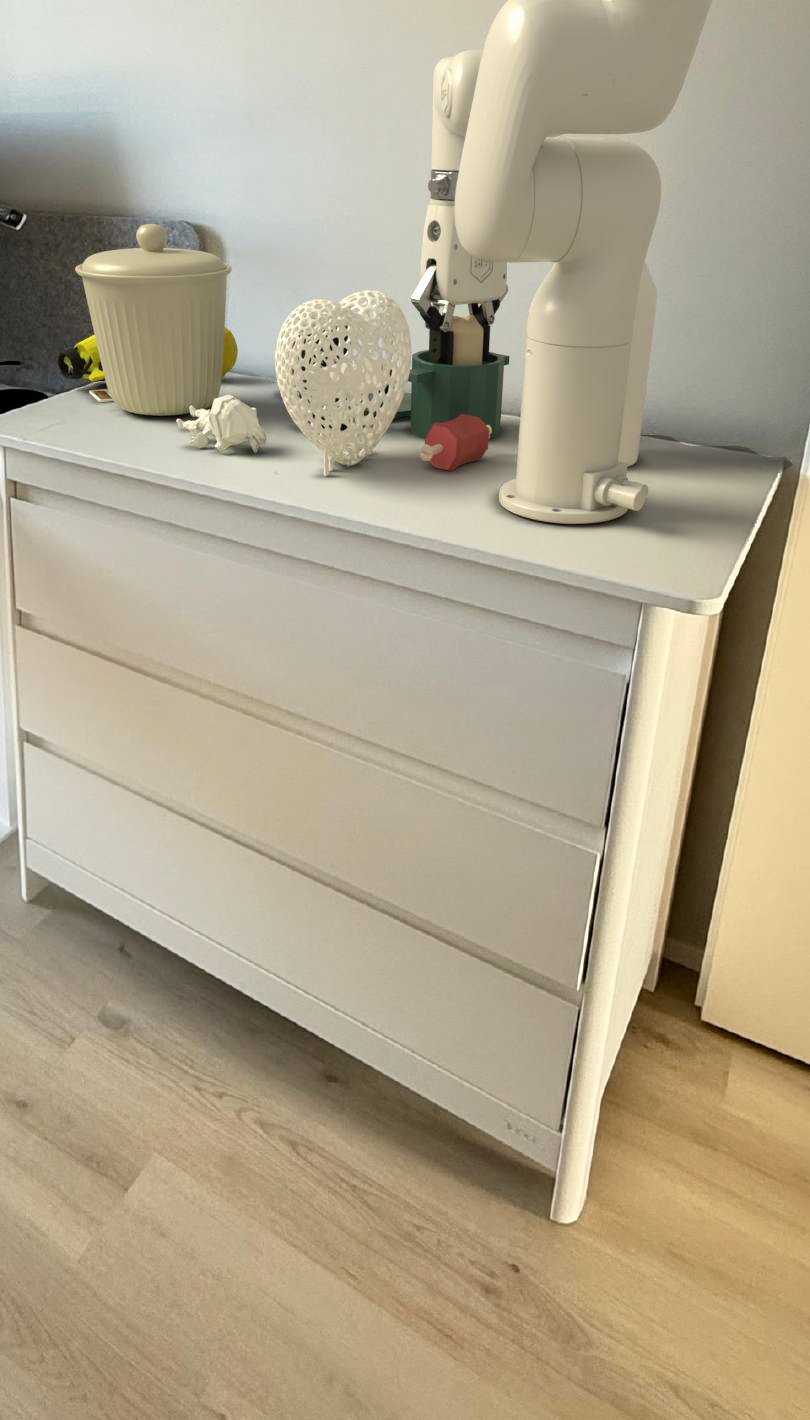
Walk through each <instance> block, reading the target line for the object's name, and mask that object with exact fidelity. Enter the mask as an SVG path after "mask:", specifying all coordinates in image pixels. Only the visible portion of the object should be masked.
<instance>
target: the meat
mask: <svg viewBox="0 0 810 1420" xmlns="http://www.w3.org/2000/svg"><path fill="white" fill-rule="evenodd" d="M491 433H492V429H491V427H490V425H485V424H484V422H483V421H482V420H481V419H480V418H479V417H475V416H470V415H465V414H461V415H460V416H458V417H457V418H455V419H454V420H451V421H447V422H443V423H433V425H432V427H431V428H430V430H429V432H428V433H427V435H426V437H425V438H424V444H423V445H422V447H420V450H421V451H420V452H419V457H420V460H421V461H423V462H424V461H425V462H429V463H430V464H431V465H432V466H433V467H434V468H437V469H441V470H445V471H450V472H453V471H455V469H457V468H458V467H460V466H461V465H464V464H466V463H469V462H480V460H481V459H482V458H483V456H484V455H485V454H486V452H487V450H488V449H489V440H490V439H491V438H490V435H489V434H491ZM489 438H490V439H489Z"/></svg>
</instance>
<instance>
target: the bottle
mask: <svg viewBox="0 0 810 1420" xmlns="http://www.w3.org/2000/svg"><path fill="white" fill-rule="evenodd" d="M657 292H658V291H657V287H656V283H655V281H654V279H653V276H652V274H651V272H650V269H649V267H648V265H647V263H646V261H645V262H644V266H643V271H642V275H641V280H640V286H639V291H638V297H637V304H636V312H635V319H634V328H633V336H632V341H631V350H630V359H629V368H628V377H627V385H626V394H625V403H624V412H623V421H622V430H621V439H620V447H619V456H618V461H619V462H623V463H627V464H628V466H627V467H630V466H633V465H634V464H636V463H637V462H638V457H639V450H640V443H641V441H640V440H641V433H642V427H643V426H642V425H643V417H644V408H645V400H646V393H647V392H646V391H647V385H648V376H649V368H650V360H651V352H652V342H653V336H654V335H653V334H654V327H655V319H656V311H657V301H658V293H657Z"/></svg>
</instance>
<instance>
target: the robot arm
mask: <svg viewBox="0 0 810 1420" xmlns="http://www.w3.org/2000/svg"><path fill="white" fill-rule="evenodd" d="M712 2H713V0H506V2H505V3H504V4H503V5H502V6H501V8H500V9H499V10H498V12H497V14H496V16H495V18H494V20H493V21H492V23H491V25H490V28H489V30H488V33H487V36H486V39H485V42H484V46H483V49H468V50H464V51H460V52H459V53H457V54H456V55H454V56H453V55H452V56H447V57H444V58H442V59H440V60H439V61H438V62H437V63H436V64H435V66H434V70H433V78H432V109H431V110H432V116H431V117H432V118H431V119H432V120H431V156H430V157H431V161H430V162H431V164H430V180H429V181H428V185H427V187H428V191H429V192H430V193H429V194H430V195H429V196H430V198H429V203H428V204H427V209H426V214H425V220H424V226H423V233H422V240H421V241H422V244H421V252H420V253H421V254H420V256H421V257H420V269H419V271H420V272H419V275H420V276H419V277H420V278H419V283H418V285H417V287H416V288H415V290H414V292H413V294H412V295H411V298H410V302H411V304H412V305H413V306H414V308H415V309H416V310H417V312H419V315H420V317H421V319H422V320H423V321H424V326H425V328H426V329H427V330H428V331H429V332H428V333H429V334H428V350H429V362H431V363H436V364H446V365H453V339H454V334H453V331H449V329H450V325H451V321H452V317H453V316H454V312H455V309H456V306H460V305H462V306H463V305H467V308H468V309H467V310H468V314H469V315H474V317H475V318H476V320H477V321H478V323H479V324H480V325H481V327H482V328H483V352H482V361H488V359H489V352H490V343H491V340H490V339H491V326H492V325H493V324H494V323H495V320H496V318H495V315H496V313H497V312H498V310H499V308H500V306H501V303H502V301H503V300H504V299H505V297H506V295H507V294H508V292H509V286H508V283H507V282H508V281H507V280H508V263H512V264H513V263H514V264H515V263H553V265H552V266H551V268H550V270H549V272H548V273H547V274H546V275H545V277H544V279H543V281H542V282H541V284H540V285H539V286H538V289H537V290H536V292H535V294H534V296H533V298H532V301H531V304H530V307H529V310H528V314H527V322H526V334H525V341H524V342H525V345H524V358H523V373H522V388H521V400H520V401H521V403H520V415H519V417H520V418H519V430H518V431H519V432H518V444H517V445H518V446H517V461H516V473H515V474H516V475H515V478H513V479H510V480H508V481H506V482H504V483H503V484H502V485H501V486H500V487H499V491H498V502H499V503H500V505H501V506H502V507H503V508H504V509H505V510H507V511H508V512H510V513H513V514H514V515H517V516H520V517H523V518H526V519H530V520H533V521H534V520H535V521H540V522H543V523H544V522H545V523H552V524H562V525H563V524H564V525H585V524H596V523H603V522H608V521H611V520H615V519H617V518H620V517H623V516H624V515H625V514H626V513H627V512H628V511H629V510H631V511H635V512H638V511H640V510H642V508H643V507H644V505H645V502H646V499H647V495H648V493H649V486H648V484H645V483H641V482H638V481H631V480H629V478H628V477H627V473H628V467H629V466H628V464H627V463H623V462H619V461H618V456H619V447H620V439H621V430H622V421H623V412H624V403H625V394H626V385H627V377H628V368H629V359H630V350H631V341H632V336H633V328H634V319H635V312H636V304H637V297H638V291H639V286H640V280H641V275H642V271H643V266H644V262H645V263H646V258H647V254H648V251H649V247H650V243H651V241H652V237H653V234H654V231H655V226H656V224H657V219H658V216H659V212H660V206H661V200H662V181H661V176H660V172H659V169H658V166H657V163H656V161H655V159H653V157H652V156H651V154H649V153H648V152H647V150H645V149H644V148H642V147H641V146H639V145H637V144H635V143H633V142H631V141H627V140H624V139H620V138H619V139H618V138H613V137H612V138H611V137H604V136H603V137H602V136H601V137H599V136H596V137H595V136H563V135H628V134H629V135H630V134H641V133H645V132H648V131H651V130H654V129H656V128H657V127H659V126H660V125H662V124H663V123H664V122H665V121H666V120H667V118H668V117H669V116H670V114H671V112H672V111H673V109H674V107H675V105H676V103H677V101H678V99H679V96H680V93H681V91H682V89H683V87H684V84H685V81H686V78H687V75H688V72H689V69H690V66H691V64H692V61H693V57H694V55H695V52H696V49H697V47H698V43H699V41H700V37H701V35H702V33H703V29H704V26H705V23H706V20H707V17H708V14H709V11H710V8H711V6H712V4H713V3H712ZM440 308H443V309H442V312H440Z"/></svg>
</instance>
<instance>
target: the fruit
mask: <svg viewBox="0 0 810 1420" xmlns="http://www.w3.org/2000/svg"><path fill="white" fill-rule="evenodd" d="M238 351H239V350H238V344H237V341H236V338H235V336H234V334H233V333H232V331H231V330H230V329H229V328H227V327H226V326H224V348H223V363H222V377H221V380H222V379H223V378H225V375H227V374H228V373H229V372H230V371H231V370H232V369H233V367H235V364H236V362H237V360H238V353H239V352H238Z"/></svg>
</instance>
